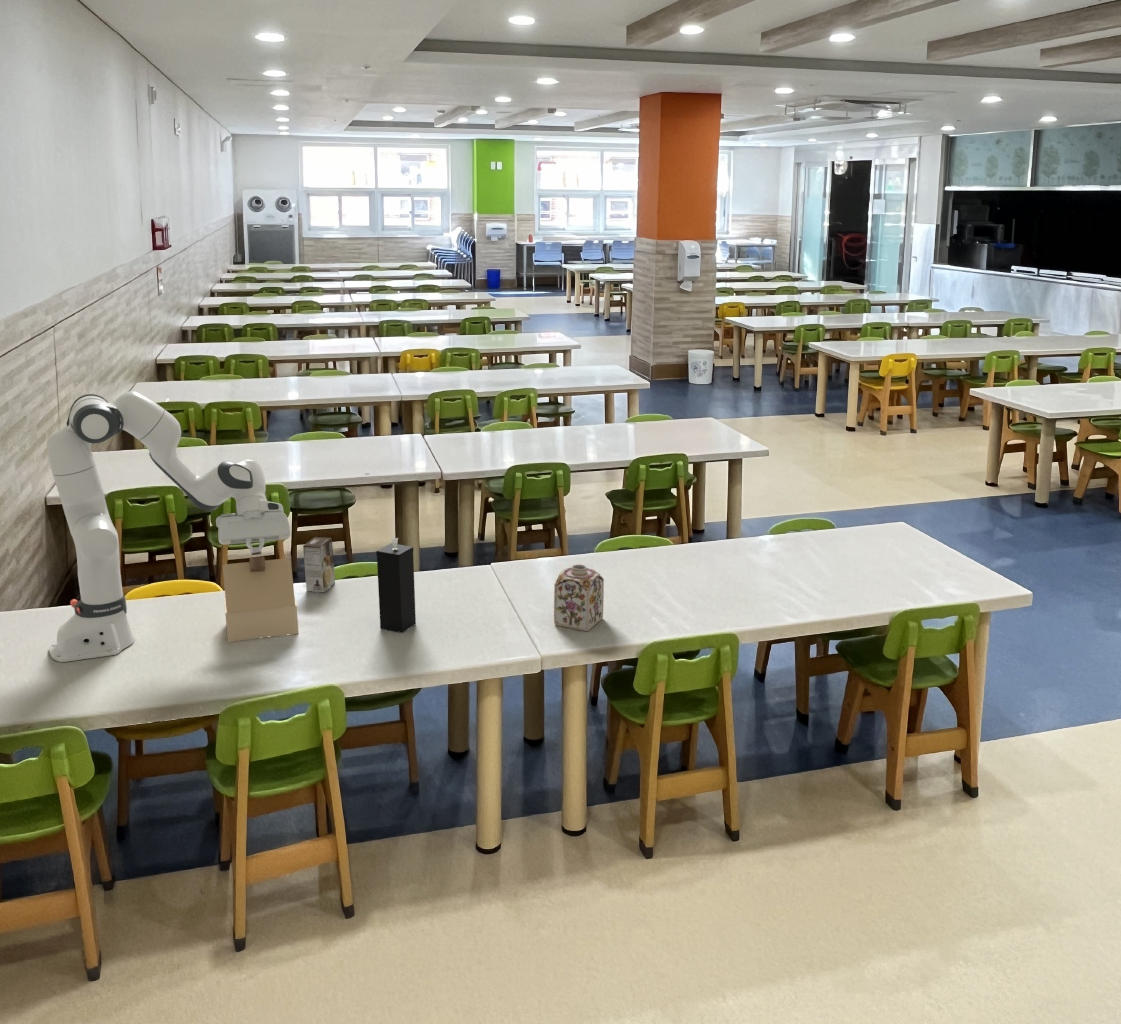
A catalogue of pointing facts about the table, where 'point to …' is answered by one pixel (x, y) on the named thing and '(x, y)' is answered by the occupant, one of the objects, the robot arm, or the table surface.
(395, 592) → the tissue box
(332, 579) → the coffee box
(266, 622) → the carton
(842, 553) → the table surface
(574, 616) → the decorative jar
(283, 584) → the lid flap
